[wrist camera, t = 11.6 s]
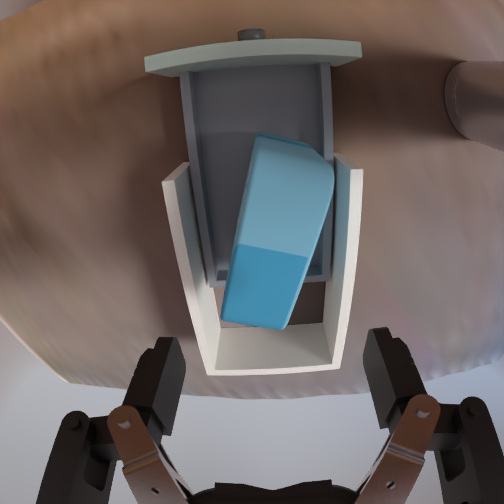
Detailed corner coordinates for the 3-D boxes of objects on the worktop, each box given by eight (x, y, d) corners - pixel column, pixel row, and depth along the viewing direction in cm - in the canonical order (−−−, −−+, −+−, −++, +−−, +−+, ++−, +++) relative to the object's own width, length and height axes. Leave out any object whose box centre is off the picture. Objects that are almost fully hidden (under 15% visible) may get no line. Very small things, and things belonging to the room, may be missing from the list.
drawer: (335, 43, 21) (359, 27, 15) (336, 264, 32) (351, 305, 26) (170, 54, 22) (143, 42, 16) (201, 272, 33) (188, 313, 27)
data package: (256, 129, 25) (255, 151, 14) (306, 141, 25) (340, 172, 15) (231, 247, 31) (218, 330, 20) (275, 255, 31) (282, 340, 20)
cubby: (339, 152, 27) (363, 169, 21) (329, 327, 37) (339, 368, 31) (183, 162, 27) (161, 181, 21) (214, 333, 38) (207, 375, 32)
